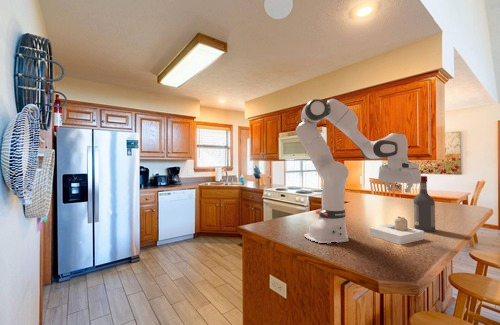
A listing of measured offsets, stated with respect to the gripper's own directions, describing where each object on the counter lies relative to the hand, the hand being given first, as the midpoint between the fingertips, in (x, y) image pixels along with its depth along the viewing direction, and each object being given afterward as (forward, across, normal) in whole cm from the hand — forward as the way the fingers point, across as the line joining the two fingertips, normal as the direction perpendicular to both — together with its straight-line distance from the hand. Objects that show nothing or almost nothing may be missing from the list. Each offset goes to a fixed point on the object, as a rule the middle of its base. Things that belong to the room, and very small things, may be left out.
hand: (398, 191), depth 118 cm
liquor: (+23, -2, +24) cm, 34 cm away
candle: (+23, +1, 0) cm, 23 cm away
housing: (+23, 0, -3) cm, 23 cm away
